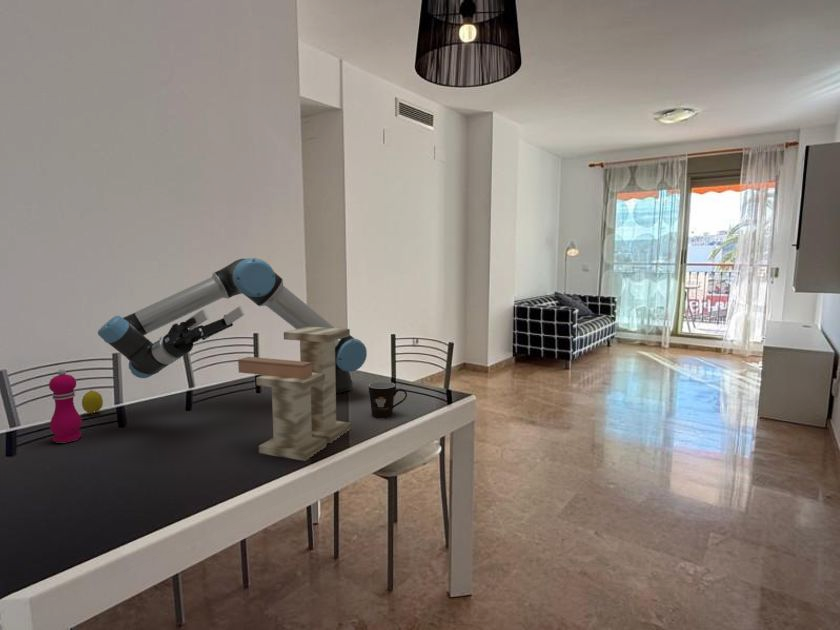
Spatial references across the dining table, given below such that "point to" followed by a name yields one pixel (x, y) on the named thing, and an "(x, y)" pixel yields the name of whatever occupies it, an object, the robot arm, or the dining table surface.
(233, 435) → the dining table surface
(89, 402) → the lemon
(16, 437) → the dining table surface
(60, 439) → the pepper mill
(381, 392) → the coffee mug
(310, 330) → the two-tier stand
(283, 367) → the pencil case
